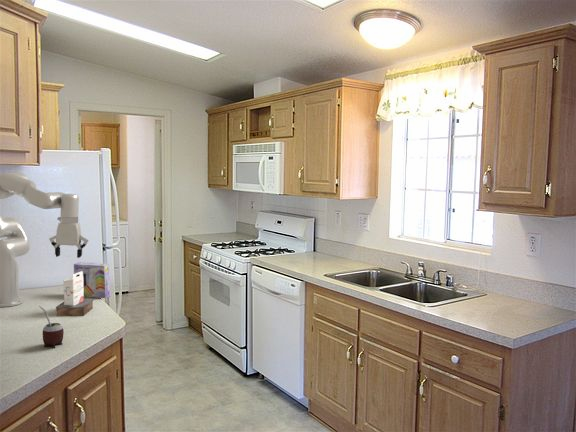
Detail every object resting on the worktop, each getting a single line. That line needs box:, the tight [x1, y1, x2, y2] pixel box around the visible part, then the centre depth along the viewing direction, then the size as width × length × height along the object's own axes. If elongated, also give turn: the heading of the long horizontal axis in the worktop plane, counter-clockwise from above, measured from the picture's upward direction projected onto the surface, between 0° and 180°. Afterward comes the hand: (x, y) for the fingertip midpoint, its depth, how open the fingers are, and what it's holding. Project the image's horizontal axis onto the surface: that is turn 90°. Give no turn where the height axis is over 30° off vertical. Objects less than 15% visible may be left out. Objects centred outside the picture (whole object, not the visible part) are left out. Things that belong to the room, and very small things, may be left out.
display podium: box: [55, 299, 94, 317], centre depth 219 cm, size 12×12×4 cm
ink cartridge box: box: [63, 271, 85, 306], centre depth 218 cm, size 9×5×15 cm, turn 173°
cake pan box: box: [73, 261, 111, 299], centre depth 245 cm, size 19×5×18 cm, turn 77°
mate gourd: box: [38, 305, 65, 349], centre depth 176 cm, size 8×8×15 cm
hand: (68, 256), depth 220 cm, fingers open, 9 cm apart
